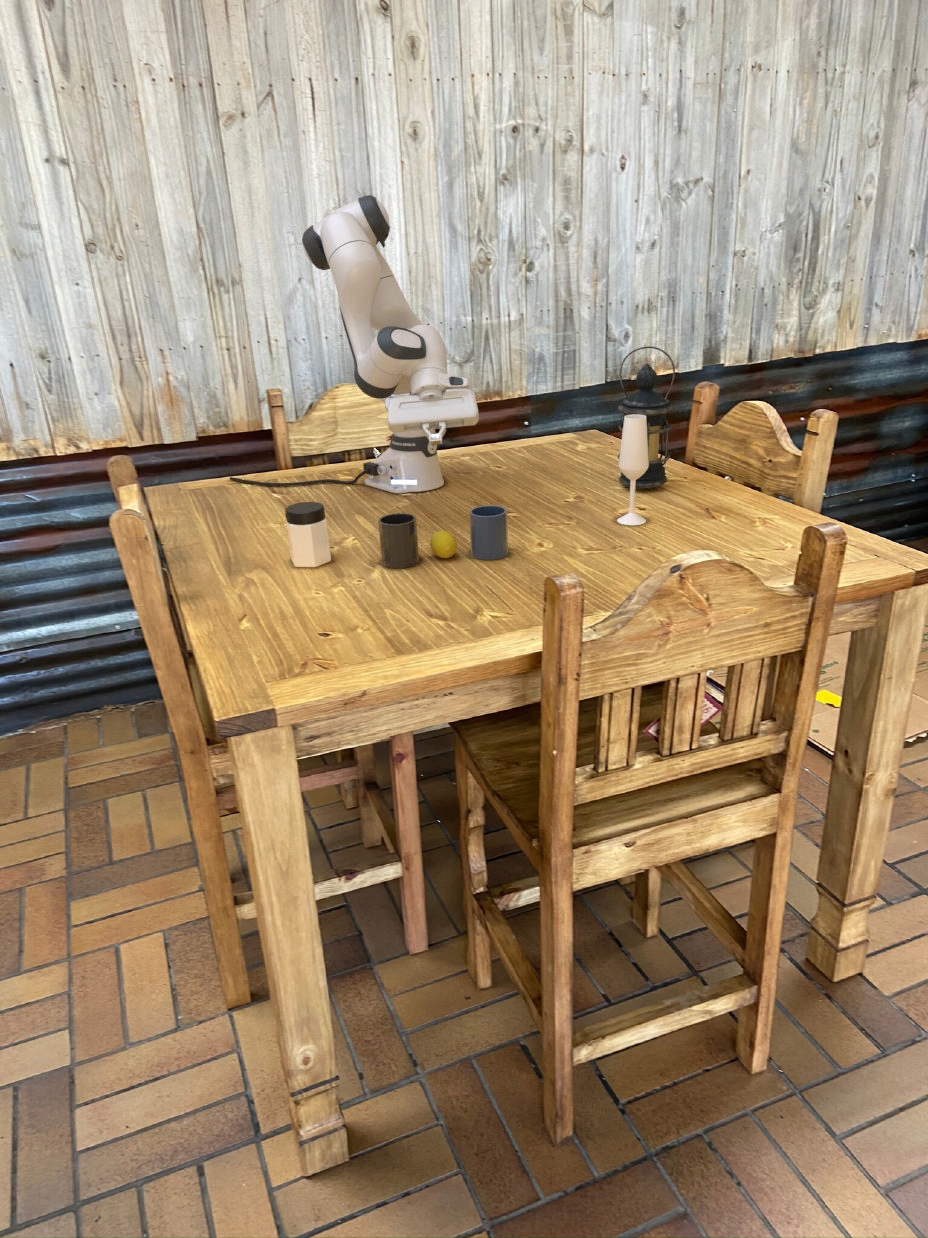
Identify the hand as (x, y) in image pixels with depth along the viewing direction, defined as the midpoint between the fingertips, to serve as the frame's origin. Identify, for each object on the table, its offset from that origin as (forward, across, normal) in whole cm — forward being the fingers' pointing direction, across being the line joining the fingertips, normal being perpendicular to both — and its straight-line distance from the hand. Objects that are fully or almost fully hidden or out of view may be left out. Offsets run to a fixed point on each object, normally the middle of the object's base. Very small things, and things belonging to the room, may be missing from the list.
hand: (435, 442), depth 194 cm
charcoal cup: (+26, -10, +4) cm, 28 cm away
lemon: (+20, -2, +6) cm, 21 cm away
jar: (+23, -29, +6) cm, 38 cm away
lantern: (-4, +52, +35) cm, 63 cm away
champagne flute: (+15, +43, +17) cm, 49 cm away
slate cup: (+26, +9, +5) cm, 28 cm away
